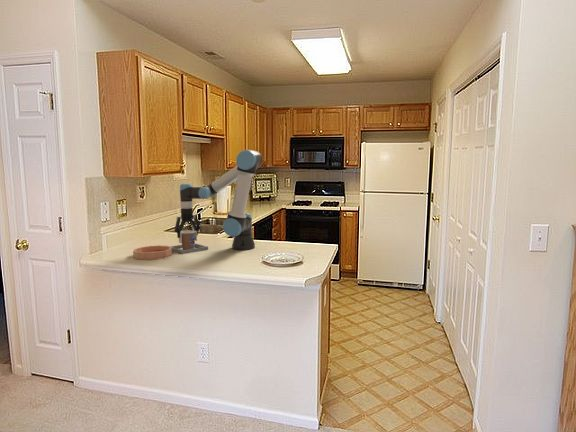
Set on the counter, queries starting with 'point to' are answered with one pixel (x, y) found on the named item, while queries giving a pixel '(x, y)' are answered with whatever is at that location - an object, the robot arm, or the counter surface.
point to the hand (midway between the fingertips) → (188, 241)
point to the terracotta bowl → (152, 252)
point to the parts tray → (200, 248)
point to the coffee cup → (188, 239)
